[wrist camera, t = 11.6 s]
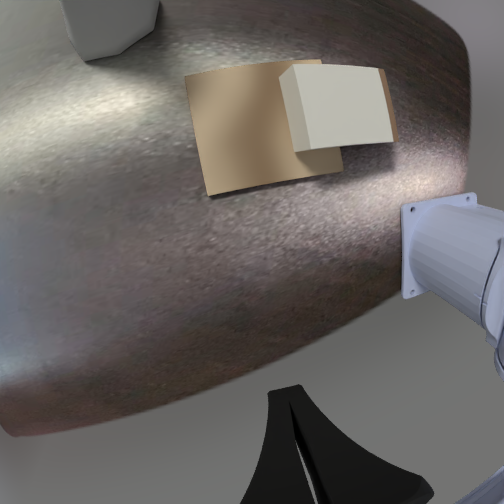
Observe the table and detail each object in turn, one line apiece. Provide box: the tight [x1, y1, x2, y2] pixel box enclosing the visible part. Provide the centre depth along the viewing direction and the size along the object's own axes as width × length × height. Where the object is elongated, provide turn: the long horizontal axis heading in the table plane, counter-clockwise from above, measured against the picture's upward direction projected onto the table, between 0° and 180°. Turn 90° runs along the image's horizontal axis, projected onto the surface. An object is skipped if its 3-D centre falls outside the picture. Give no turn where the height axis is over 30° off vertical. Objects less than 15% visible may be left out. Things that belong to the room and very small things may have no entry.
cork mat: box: [185, 60, 344, 196], centre depth 16 cm, size 9×8×1 cm
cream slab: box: [279, 64, 399, 152], centre depth 15 cm, size 2×5×6 cm
